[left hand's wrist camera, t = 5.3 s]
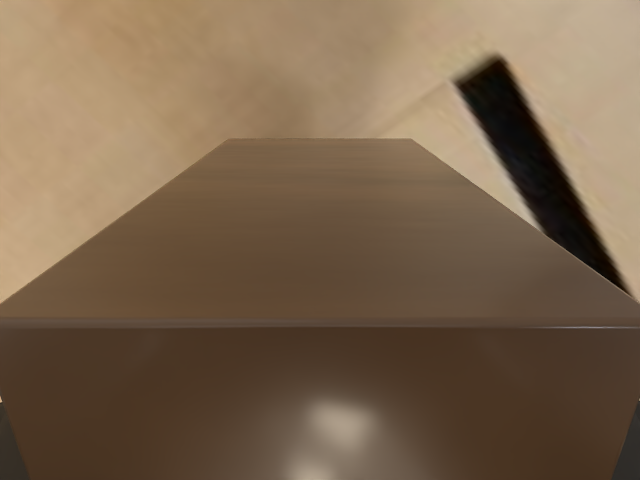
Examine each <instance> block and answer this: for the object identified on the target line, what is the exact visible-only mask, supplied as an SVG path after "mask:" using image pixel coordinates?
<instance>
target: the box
mask: <svg viewBox="0 0 640 480" xmlns="http://www.w3.org/2000/svg"><path fill="white" fill-rule="evenodd" d="M0 396H1V399H2V402H3V405H4V408H5V411H6V414H7V417H8V419H9V422H10V425H11V428H12V431H13V434H14V437H15V440H16V442H17V445H18V448H19V451H20V454H21V457H22V460H23V463H24V466H25V468H26V471H27V474H28V477H29V480H611V479H612V476H613V473H614V470H615V467H616V465H617V462H618V459H619V456H620V453H621V450H622V447H623V445H624V442H625V439H626V436H627V433H628V430H629V427H630V424H631V422H632V419H633V416H634V413H635V410H636V407H637V404H638V401H639V399H640V303H639V302H637V301H636V300H635V299H633V298H632V297H630V296H629V295H628V294H626V293H625V292H624V291H622V290H621V289H619V288H618V287H617V286H615V285H614V284H612V283H611V282H610V281H608V280H607V279H605V278H604V277H603V276H601V275H600V274H599V273H597V272H596V271H594V270H593V269H592V268H590V267H589V266H587V265H586V264H585V263H583V262H582V261H580V260H579V259H578V258H576V257H575V256H574V255H572V254H571V253H569V252H568V251H567V250H565V249H564V248H562V247H561V246H560V245H558V244H557V243H555V242H554V241H553V240H551V239H550V238H549V237H547V236H546V235H544V234H543V233H542V232H540V231H539V230H537V229H536V228H535V227H533V226H532V225H530V224H529V223H528V222H526V221H525V220H523V219H522V218H521V217H519V216H518V215H517V214H515V213H514V212H512V211H511V210H510V209H508V208H507V207H505V206H504V205H503V204H501V203H500V202H498V201H497V200H496V199H494V198H493V197H492V196H490V195H489V194H487V193H486V192H485V191H483V190H482V189H480V188H479V187H478V186H476V185H475V184H473V183H472V182H471V181H469V180H468V179H467V178H465V177H464V176H462V175H461V174H460V173H458V172H457V171H455V170H454V169H453V168H451V167H450V166H448V165H447V164H446V163H444V162H443V161H442V160H440V159H439V158H437V157H436V156H435V155H433V154H432V153H430V152H429V151H428V150H426V149H425V148H423V147H422V146H421V145H419V144H418V143H417V142H415V141H414V140H412V139H228V140H227V141H225V142H224V143H222V144H221V145H220V146H218V147H217V148H215V149H214V150H213V151H211V152H210V153H208V154H207V155H206V156H204V157H203V158H202V159H200V160H199V161H197V162H196V163H195V164H193V165H192V166H190V167H189V168H188V169H186V170H185V171H184V172H182V173H181V174H179V175H178V176H177V177H175V178H174V179H172V180H171V181H170V182H168V183H167V184H165V185H164V186H163V187H161V188H160V189H159V190H157V191H156V192H154V193H153V194H152V195H150V196H149V197H147V198H146V199H145V200H143V201H142V202H141V203H139V204H138V205H136V206H135V207H134V208H132V209H131V210H129V211H128V212H127V213H125V214H124V215H123V216H121V217H120V218H118V219H117V220H116V221H114V222H113V223H111V224H110V225H109V226H107V227H106V228H104V229H103V230H102V231H100V232H99V233H98V234H96V235H95V236H93V237H92V238H91V239H89V240H88V241H86V242H85V243H84V244H82V245H81V246H80V247H78V248H77V249H75V250H74V251H73V252H71V253H70V254H68V255H67V256H66V257H64V258H63V259H62V260H60V261H59V262H57V263H56V264H55V265H53V266H52V267H50V268H49V269H48V270H46V271H45V272H43V273H42V274H41V275H39V276H38V277H37V278H35V279H34V280H32V281H31V282H30V283H28V284H27V285H25V286H24V287H23V288H21V289H20V290H19V291H17V292H16V293H14V294H13V295H12V296H10V297H9V298H7V299H6V300H5V301H3V302H2V303H1V304H0Z"/></svg>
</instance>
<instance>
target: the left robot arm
mask: <svg viewBox="0 0 640 480" xmlns="http://www.w3.org/2000/svg"><path fill="white" fill-rule="evenodd" d="M0 480H29V477H28V474H27V471H26V468H25V466H24V463H23V460H22V457H21V454H20V451H19V448H18V445H17V442H16V440H15V437H14V434H13V431H12V428H11V425H10V422H9V419H8V417H7V414H6V411H5V408H4V405H3V402H1V403H0ZM611 480H640V401H638V404H637V407H636V410H635V413H634V416H633V419H632V422H631V424H630V427H629V430H628V433H627V436H626V439H625V442H624V445H623V447H622V450H621V453H620V456H619V459H618V462H617V465H616V467H615V470H614V473H613V476H612V479H611Z"/></svg>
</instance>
